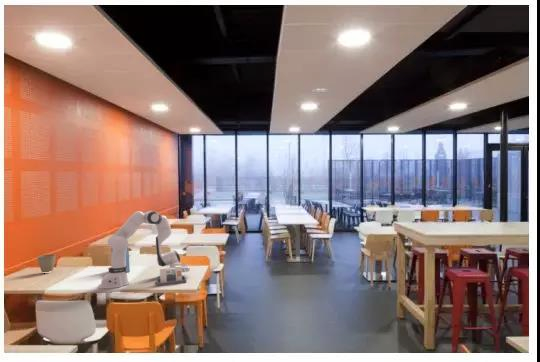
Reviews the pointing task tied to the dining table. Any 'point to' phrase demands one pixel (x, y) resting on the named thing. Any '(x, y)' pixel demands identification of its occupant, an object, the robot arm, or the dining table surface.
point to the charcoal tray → (171, 281)
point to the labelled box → (178, 272)
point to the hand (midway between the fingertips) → (178, 271)
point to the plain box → (163, 275)
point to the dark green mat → (168, 276)
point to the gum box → (126, 259)
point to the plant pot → (46, 262)
